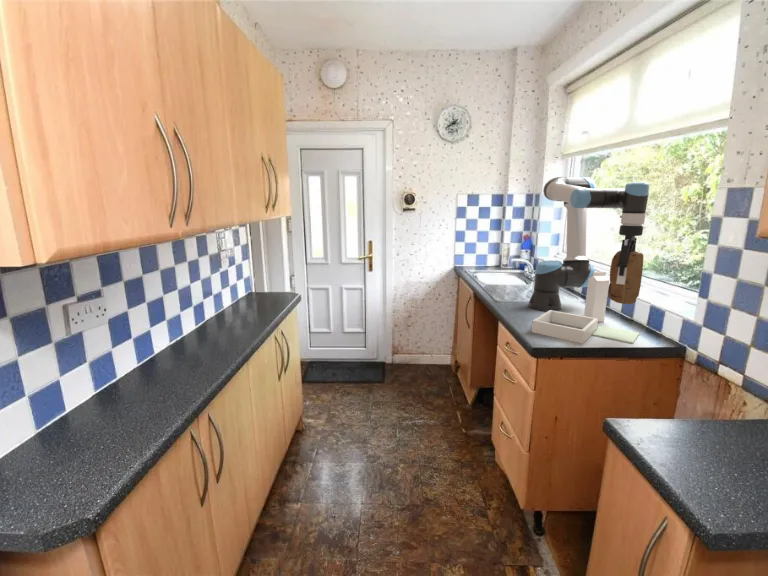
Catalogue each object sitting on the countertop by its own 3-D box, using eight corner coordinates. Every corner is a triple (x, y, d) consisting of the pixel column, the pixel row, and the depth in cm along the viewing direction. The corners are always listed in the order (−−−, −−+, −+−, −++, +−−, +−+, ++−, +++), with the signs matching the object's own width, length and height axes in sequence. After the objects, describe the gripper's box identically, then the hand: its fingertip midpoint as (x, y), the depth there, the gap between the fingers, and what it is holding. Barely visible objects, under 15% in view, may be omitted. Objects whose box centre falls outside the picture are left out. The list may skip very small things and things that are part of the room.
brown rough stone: (639, 305, 148) (647, 253, 144) (620, 305, 148) (628, 253, 143) (620, 298, 159) (627, 249, 154) (603, 298, 158) (609, 249, 154)
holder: (549, 320, 175) (550, 309, 174) (596, 330, 162) (598, 318, 161) (531, 332, 160) (532, 320, 159) (582, 343, 147) (584, 331, 146)
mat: (600, 326, 166) (601, 325, 166) (639, 334, 157) (639, 332, 157) (592, 335, 156) (592, 334, 156) (632, 343, 147) (632, 342, 147)
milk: (604, 321, 173) (611, 273, 168) (591, 322, 173) (597, 273, 168) (595, 317, 179) (602, 270, 174) (583, 317, 179) (589, 270, 174)
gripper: (626, 222, 158) (619, 276, 163) (613, 225, 140) (605, 285, 145) (648, 223, 153) (640, 278, 158) (637, 226, 136) (628, 288, 141)
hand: (623, 281), depth 152 cm, fingers closed on brown rough stone, 11 cm apart
